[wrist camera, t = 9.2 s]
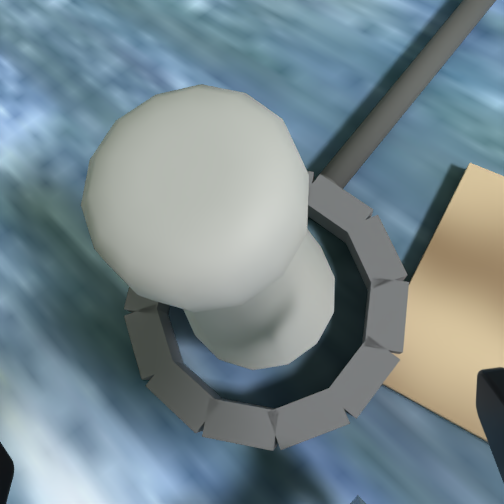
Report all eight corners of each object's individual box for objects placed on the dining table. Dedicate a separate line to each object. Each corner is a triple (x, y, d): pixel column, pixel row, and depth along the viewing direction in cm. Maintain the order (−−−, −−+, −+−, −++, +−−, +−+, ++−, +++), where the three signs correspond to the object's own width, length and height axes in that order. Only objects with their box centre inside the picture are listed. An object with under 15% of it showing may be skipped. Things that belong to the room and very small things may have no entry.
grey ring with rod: (286, 506, 18) (283, 516, 17) (91, 323, 21) (74, 318, 20) (632, 43, 21) (654, 18, 20) (417, -56, 24) (423, -84, 23)
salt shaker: (183, 267, 21) (-7, 99, 9) (300, 218, 21) (271, -21, 9) (227, 393, 20) (66, 399, 7) (356, 341, 19) (417, 254, 7)
